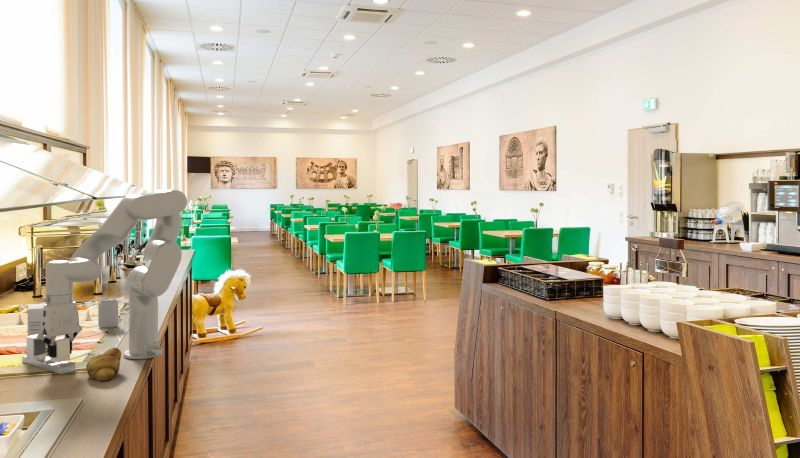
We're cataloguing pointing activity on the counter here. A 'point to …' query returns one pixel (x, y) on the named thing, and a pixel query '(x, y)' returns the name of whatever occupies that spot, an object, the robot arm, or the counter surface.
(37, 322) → the supplement box
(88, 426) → the counter surface
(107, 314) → the grey upright block
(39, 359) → the rail
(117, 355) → the bread roll
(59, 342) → the finger
